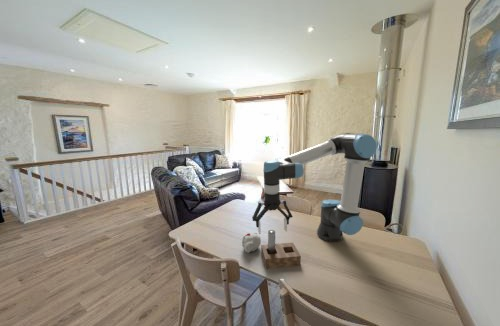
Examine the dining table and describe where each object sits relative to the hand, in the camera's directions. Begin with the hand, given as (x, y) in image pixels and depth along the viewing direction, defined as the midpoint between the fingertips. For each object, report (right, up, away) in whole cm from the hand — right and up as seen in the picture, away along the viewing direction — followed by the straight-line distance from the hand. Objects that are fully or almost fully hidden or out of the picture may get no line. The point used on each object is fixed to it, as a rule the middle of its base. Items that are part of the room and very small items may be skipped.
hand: (272, 231), depth 104 cm
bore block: (+4, -16, +3) cm, 17 cm away
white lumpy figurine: (-11, -14, +14) cm, 23 cm away
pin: (0, -15, +3) cm, 15 cm away
